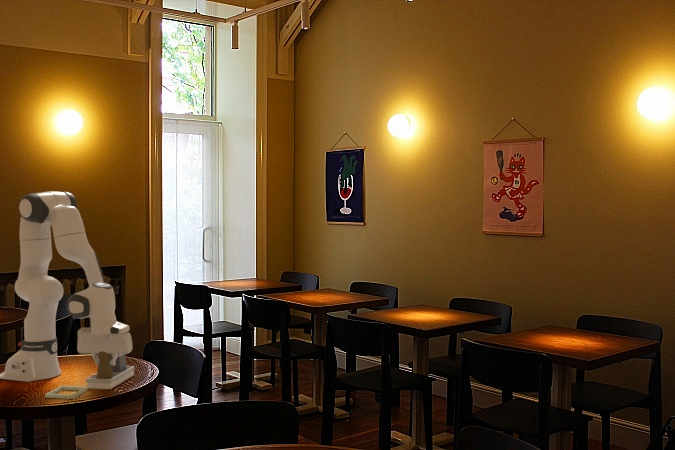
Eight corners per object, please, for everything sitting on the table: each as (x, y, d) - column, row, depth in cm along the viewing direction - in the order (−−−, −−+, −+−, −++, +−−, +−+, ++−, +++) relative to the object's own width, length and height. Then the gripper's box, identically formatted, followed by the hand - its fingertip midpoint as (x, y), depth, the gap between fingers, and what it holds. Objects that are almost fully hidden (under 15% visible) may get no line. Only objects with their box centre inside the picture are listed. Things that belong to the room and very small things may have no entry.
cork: (99, 377, 266) (100, 347, 265) (115, 377, 266) (116, 348, 265) (93, 381, 260) (93, 351, 259) (109, 382, 259) (110, 352, 259)
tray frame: (45, 397, 248) (45, 394, 248) (61, 389, 258) (61, 385, 258) (72, 398, 247) (72, 395, 246) (87, 390, 257) (87, 387, 257)
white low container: (85, 388, 259) (84, 377, 259) (110, 374, 278) (109, 364, 278) (111, 389, 258) (110, 378, 257) (134, 375, 276) (134, 365, 276)
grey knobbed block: (107, 374, 270) (106, 350, 270) (113, 371, 275) (113, 347, 275) (120, 374, 269) (119, 351, 269) (126, 371, 274) (125, 348, 274)
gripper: (72, 329, 260) (74, 367, 261) (125, 329, 257) (127, 367, 258) (81, 325, 267) (83, 362, 267) (133, 326, 263) (135, 363, 264)
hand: (105, 365), depth 262 cm, fingers closed on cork, 4 cm apart
